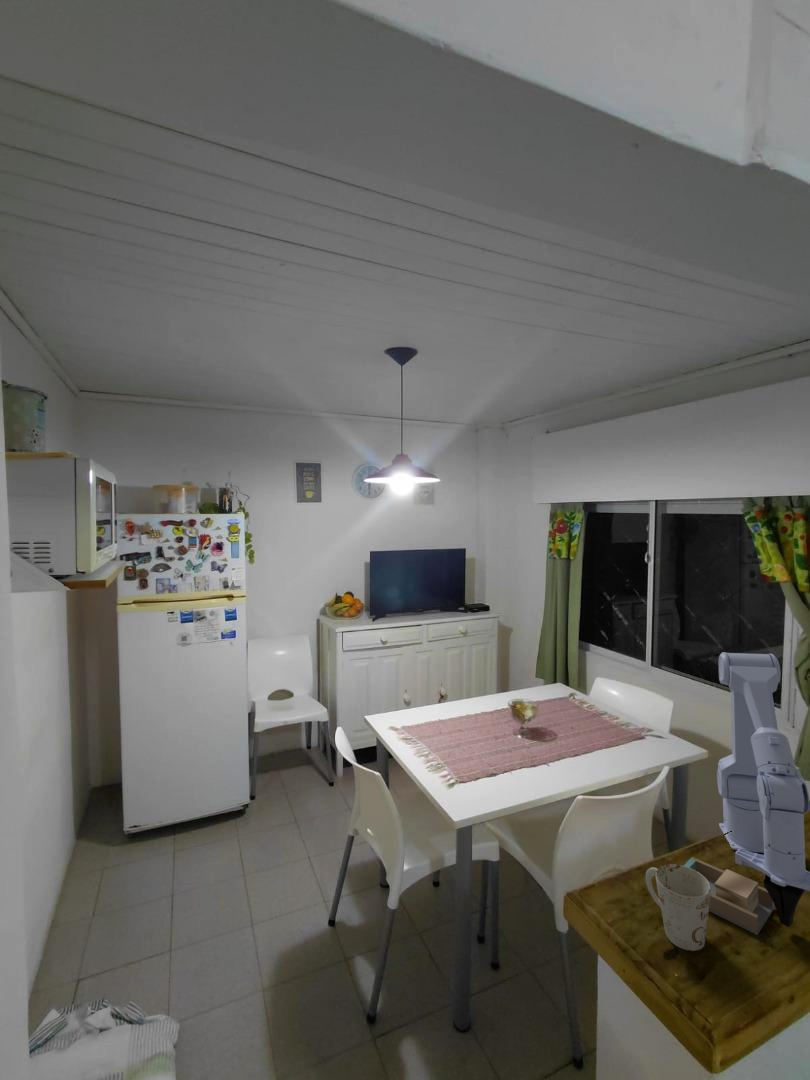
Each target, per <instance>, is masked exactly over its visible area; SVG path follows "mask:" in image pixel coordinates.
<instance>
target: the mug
mask: <svg viewBox="0 0 810 1080" xmlns="http://www.w3.org/2000/svg"><path fill="white" fill-rule="evenodd" d="M654 877H655V881H656V882H655V883H656V887H657V893H656V891H655V889H654V887H653V883H652V880H653V878H654ZM645 884H646V887H647V890H648V892H649V893H650V895H651V898H653V900H654V902H655V904H656V905H657V906H658V907H660V910H661V911H660V912H661V916H662V923H663V927H664V932H665V935H666V938H667V939H668V941H670V942H671V943H672V944H673V945H674V946H676V947H678V948H680V949H683V950H685V951H689V950H690V951H691V952H694V951H695V952H697V951H699V950H702V949H703V948H704V947H705V944H706V938H707V937H706V936H707V928H708V919H709V912H710V911H709V903H710V894H711V887H710V884H709V882H708V880H707V879H706V878H705V877H704V876H703V875H702V874H700V873H699V872H697V871H695V870H693V869H691V868H689V867H686V866H684V865H680V864H673V863H672V864H671V863H670V864H664V865H661V866H660V867H658V868H657V867H650V868H648V869H647V870H646V872H645ZM657 894H658V895H657Z"/></svg>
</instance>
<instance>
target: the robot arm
mask: <svg viewBox="0 0 810 1080" xmlns="http://www.w3.org/2000/svg"><path fill="white" fill-rule="evenodd" d="M781 673H782V672H781V666H780V662H779V660H778V658H777V656H775V655H774V653H767V654H766V653H765V654H764V653H740V652H736V653H735V652H726V651H724V652H723V651H722V652H721V653H720V655H719V656H718V679H719V683H720V684H721V685H725V686H728V688H729V691H730V708H731V709H730V712H731V713H730V715H731V717H730V718H731V722H730V723H731V752H732V753H731V754H729V755H727V756H724V757H723V758H720V759H719V760H718V763H717V771H716V781H717V783H716V784H717V789H718V794H719V795H720V796H721V798H722V813H723V822H719V823H718V826H719V828H720V830H721V831H722V834H723V835H724V834H725V833H727V832H729V833H728V834H726V835H724V837H725V839H726V841H727V843H728V842H729V843H728V844H730V845H729V846H730V848H731V849H732V850H736V851H735V853H734V858H735V859H734V860H735V864H737V865H739V866H743V865H744V866H746V867H749V868H752V869H753V870H756V871H759V872H760V873H763V875H764V876H765V877H764V880H763V886H764V887H763V888H765V889H766V890H767V891H768V893H769V895H770V896H771V898H772V900H773V903H774V908H775V910H776V913H777V915H778V919H779V923H780V924H781V925H784V926H786V927H787V928H791V926H792V924H793V922H794V916H795V912H796V908H797V906H798V904H799V901H800V900H801V898H802V897H803V894H804V893H805V892H809V893H810V871H808V870H806V849H805V848H806V847H805V843H806V841H805V818H804V817H805V816H804V813H809V812H810V794H809V789H808V786H807V783H806V781H805V779H804V777H803V776H802V774H801V771H800V769H798V768H796V763H795V761H794V760H795V759H794V757H793V753H792V749H791V745H790V742H789V738H788V737H787V735H786V734H784V733H782V732H781V731H780V730H779V727H778V722H777V721H778V720H777V716H776V715H777V714H776V707H775V703H774V696H773V693H775V692H777V690H778V685H779V683H781V682H780V681H781ZM730 831H732V832H730ZM759 853H762V854H759Z"/></svg>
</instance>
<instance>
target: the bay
mask: <svg viewBox="0 0 810 1080" xmlns="http://www.w3.org/2000/svg"><path fill="white" fill-rule="evenodd" d="M683 866H686V867H689V868H691V869H693V870H695V871H697V872H699V873H700V874H702V875H703V876H704V877H705V878H706V879H707V880H708V882H709V884H710V887H711V894H710V903H709V912H710V913H713V914H714V915H717V916H718V917H720V918H722V919H723V920H726V921H728V922H730V923H732V924H734V925H737V926H739V927H741V928H743V929H744V930H747V931H748V932H749V933H752V934H754V935H757V936H758V935H759V933H760V931H761V930H762V929H763V927H764V926H765V924H766V922H768V919H769V918H770V916H771V914H772V913H773V911H774V910H775V905H774V903H773V900H772V898H771V896H770V895H769V893H768V891H767V890H766V888H765V887H762V886H760V885H758V905H757V907H756V908H755V910H754V911H753V913H752V912H750V911H748V910H746V909H744V908H741V907H739V906H737V905H735V904H733V903H731V902H729V901H727V900H725V899H722V898H720V897H718V896H716V887H715V882H716V881H717V880H718V879H719V878H720V876H721V875H722V874H723V873H724V872H725V870H724V869H721V868H719V867H716V866H714V865H713V864H709V863H707V862H705V861H703V860H700V859H698V858H696V857H694V856H692V857H690V859H688V860H687V861H686V862H685V864H683Z"/></svg>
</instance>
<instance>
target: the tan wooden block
mask: <svg viewBox="0 0 810 1080" xmlns="http://www.w3.org/2000/svg"><path fill="white" fill-rule="evenodd" d="M724 871H725V872H724V873H723V874H722V875H721V876H720V878H719V879H718V880H717V881H716V882H715V887H716V896H718V897H720V898H722V899H725V900H727V901H729V902H731V903H733V904H735V905H737V906H739V907H741V908H744V909H746V910H748V911H750V912H752V913H753V911H754V910H755V908H756V907H757V905H758V886H759V882H758V881H756V880H753V879H751V878H748V877H746V876H743V875H742V874H739V873H737V872H735V871H732V870H730V869H728V868H726V869H725V870H724Z"/></svg>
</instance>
